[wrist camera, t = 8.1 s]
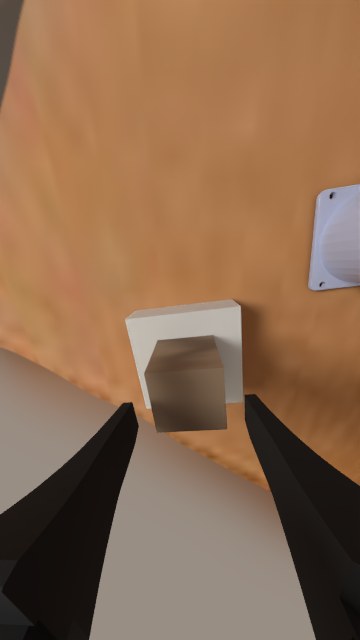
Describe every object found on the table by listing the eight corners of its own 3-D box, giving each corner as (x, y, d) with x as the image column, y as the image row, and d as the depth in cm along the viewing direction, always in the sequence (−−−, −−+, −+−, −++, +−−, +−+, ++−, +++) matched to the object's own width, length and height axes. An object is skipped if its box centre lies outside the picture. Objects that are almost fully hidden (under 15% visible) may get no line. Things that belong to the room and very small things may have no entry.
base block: (232, 299, 17) (240, 306, 14) (235, 382, 20) (243, 402, 17) (135, 310, 18) (125, 319, 15) (152, 389, 21) (146, 408, 18)
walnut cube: (212, 335, 15) (224, 367, 10) (216, 382, 17) (227, 429, 12) (157, 340, 16) (143, 373, 11) (165, 385, 17) (156, 432, 12)
